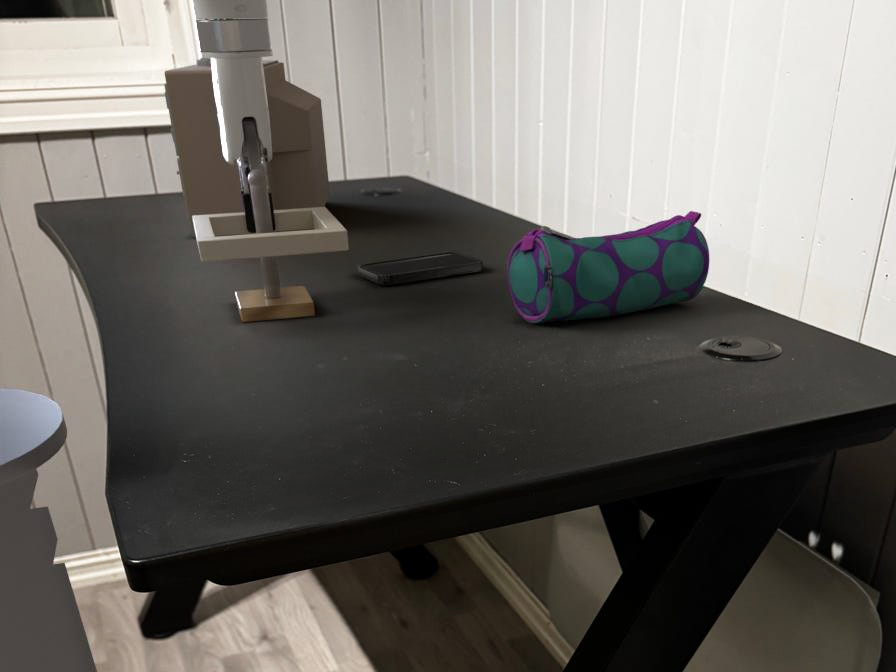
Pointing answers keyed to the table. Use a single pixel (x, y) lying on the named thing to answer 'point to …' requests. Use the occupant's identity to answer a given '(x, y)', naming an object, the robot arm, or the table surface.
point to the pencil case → (607, 271)
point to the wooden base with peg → (270, 271)
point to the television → (215, 180)
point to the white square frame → (269, 235)
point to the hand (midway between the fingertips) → (260, 228)
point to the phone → (419, 268)
